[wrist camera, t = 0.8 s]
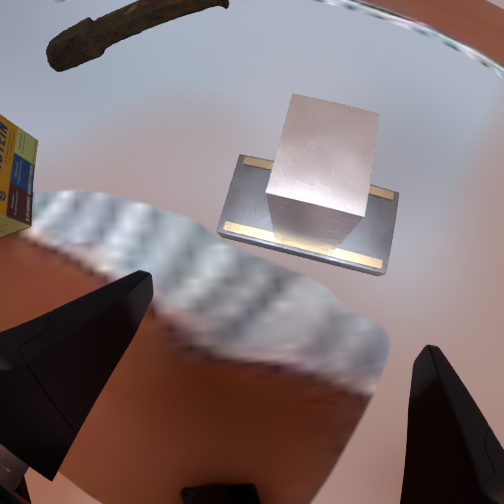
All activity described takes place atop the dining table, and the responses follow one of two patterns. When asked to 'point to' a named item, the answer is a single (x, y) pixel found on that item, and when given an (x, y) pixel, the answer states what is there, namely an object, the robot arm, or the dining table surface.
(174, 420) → the dining table surface
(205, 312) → the dining table surface
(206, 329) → the dining table surface
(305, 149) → the pale upright block
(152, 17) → the dark brown rod
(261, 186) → the grey gold-striped flat block
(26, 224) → the protein box
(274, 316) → the dining table surface
